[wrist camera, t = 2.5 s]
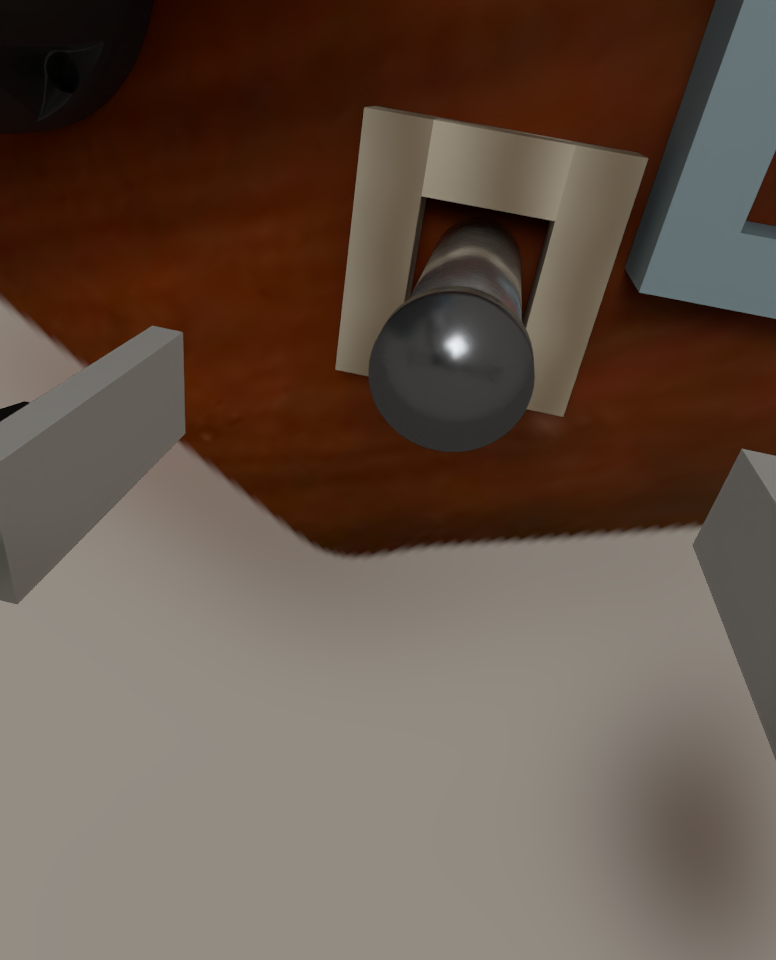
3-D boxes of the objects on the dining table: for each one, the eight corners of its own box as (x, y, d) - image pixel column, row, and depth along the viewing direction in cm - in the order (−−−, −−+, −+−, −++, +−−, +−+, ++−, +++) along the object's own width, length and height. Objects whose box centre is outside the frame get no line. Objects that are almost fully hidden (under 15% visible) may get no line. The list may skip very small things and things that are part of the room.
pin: (418, 302, 31) (358, 433, 19) (436, 201, 29) (380, 279, 17) (512, 321, 31) (511, 466, 19) (538, 220, 28) (555, 314, 16)
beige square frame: (346, 351, 33) (335, 369, 31) (376, 105, 27) (364, 107, 25) (560, 395, 32) (563, 416, 30) (637, 152, 26) (648, 158, 24)
